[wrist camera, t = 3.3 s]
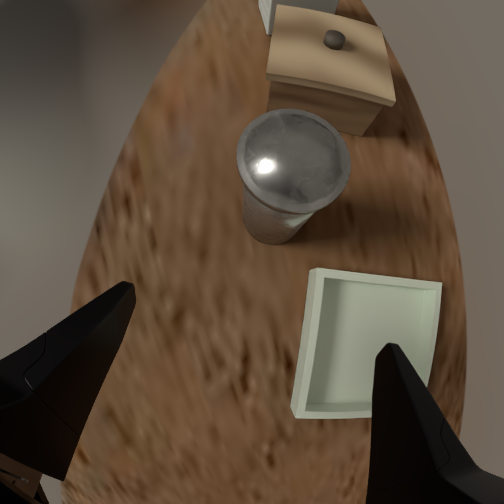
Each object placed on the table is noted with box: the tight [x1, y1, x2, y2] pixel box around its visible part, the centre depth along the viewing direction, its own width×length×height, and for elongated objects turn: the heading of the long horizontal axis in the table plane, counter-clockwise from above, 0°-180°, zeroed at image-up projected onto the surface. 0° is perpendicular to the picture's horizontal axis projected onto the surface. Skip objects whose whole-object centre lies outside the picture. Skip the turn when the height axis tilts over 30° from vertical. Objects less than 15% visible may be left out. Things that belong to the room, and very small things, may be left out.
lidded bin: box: [266, 4, 396, 136], centre depth 21 cm, size 10×10×8 cm
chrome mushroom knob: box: [237, 109, 351, 245], centre depth 18 cm, size 5×5×11 cm
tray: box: [290, 268, 442, 419], centre depth 21 cm, size 11×11×2 cm
